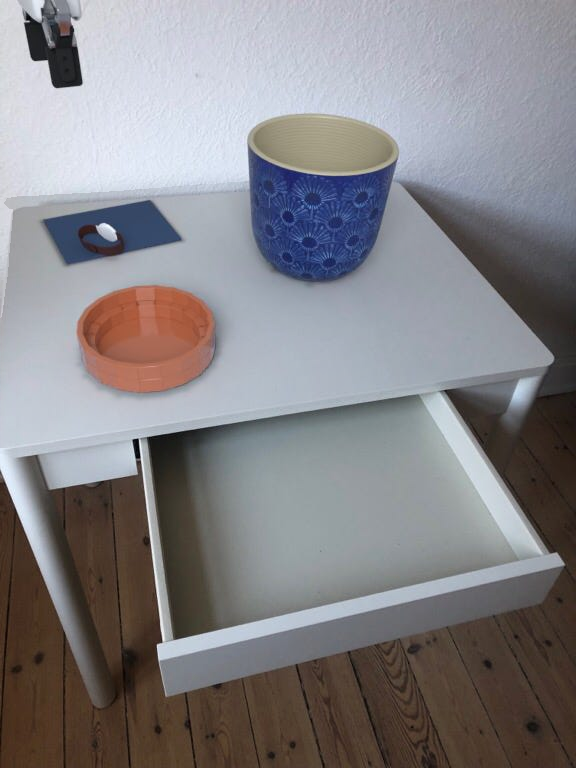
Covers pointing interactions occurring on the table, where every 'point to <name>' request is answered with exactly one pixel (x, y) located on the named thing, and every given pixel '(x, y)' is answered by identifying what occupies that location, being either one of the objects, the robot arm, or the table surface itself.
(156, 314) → the bowl
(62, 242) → the mat
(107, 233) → the watch
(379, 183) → the planter
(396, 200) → the table surface
